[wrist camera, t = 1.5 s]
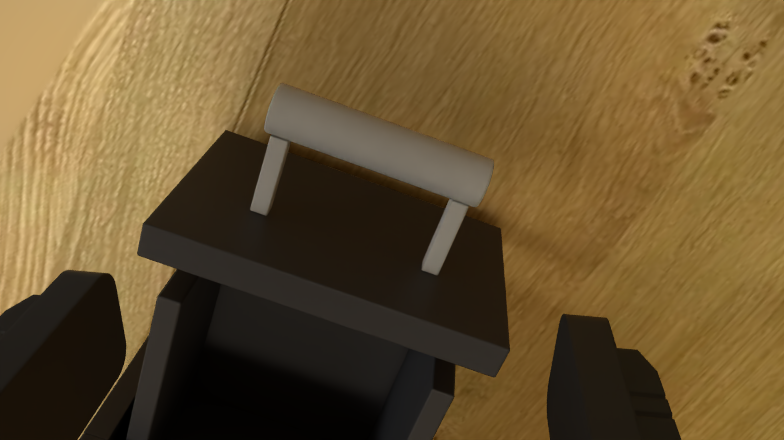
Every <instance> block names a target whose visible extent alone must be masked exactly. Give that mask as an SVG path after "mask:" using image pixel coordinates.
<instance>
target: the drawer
mask: <svg viewBox="0 0 784 440" xmlns="http://www.w3.org/2000/svg"><path fill="white" fill-rule="evenodd" d="M264 129H265V132H266V133H269V134H272V135H271V136H270V139H269V143H268V145H267V144H264V143H261V142H258V141H256V140H253V139H250V138H247V137H244V136H242V135H239V134H236V133H233V132H230V131H228V130H225V131H224V133H223V134H222V135H221V136H220V137H219V138H218V139H217V141H216V142H215V143H214V144H213V145H212V146H211V147H210V148H209V150H208V151H207V152H206V153H205V154H204V155H203V156H202V158H201V159H200V160H199V161H198V162H197V163H196V164H195V165H194V167H193V168H192V169H191V170H190V171H189V172H188V173H187V175H186V176H185V177H184V178H183V179H182V180H181V181H180V182H179V184H178V185H177V186H176V187H175V188H174V189H173V190H172V192H171V193H170V194H169V195H168V196H167V197H166V198H165V199H164V201H163V202H162V203H161V204H160V205H159V206H158V207H157V209H156V210H155V211H154V212H153V213H152V214H151V215H150V217H149V218H148V219H147V220H146V221H145V222H144V223H143V227H142V232H141V237H140V242H139V247H138V252H137V254H138V255H139V256H141V257H144V258H147V259H150V260H153V261H156V262H159V263H162V264H165V265H167V266H170V267H173V268H176V269H177V270H176V271H175V273H174V274H173V275H172V277H171V278H170V280H169V281H168V282H167V284H166V285H165V287H164V288H163V290H162V291H161V292H160V294H159V295H158V297H157V301H156V306H155V311H154V315H153V320H152V324H151V329H150V333H149V338H148V342H147V347H146V351H145V356H144V360H143V365H142V369H141V374H140V378H139V383H138V388H137V392H136V397H135V401H134V406H133V410H132V415H131V419H130V424H129V428H128V433H127V437H126V440H432V439H433V437H434V435H435V433H436V431H437V429H438V427H439V425H440V424H441V422H442V420H443V418H444V416H445V414H446V412H447V410H448V408H449V406H450V404H451V402H452V400H453V399H454V390H455V364H456V365H459V366H462V367H465V368H468V369H471V370H474V371H477V372H480V373H482V374H485V375H488V376H491V377H496V375H497V373H498V372H499V370H500V368H501V366H502V364H503V362H504V361H505V359H506V357H507V355H508V353H509V351H510V345H509V331H508V317H507V304H506V290H505V277H504V263H503V250H502V236H501V229H500V228H498V227H496V226H493V225H490V224H487V223H485V222H482V221H479V220H476V219H473V218H471V217H468V216H465V214H466V212H467V210H468V206H469V205H470V206H472V207H477V206H478V205H479V204H480V202H481V201H482V199H483V197H484V195H485V193H486V191H487V188H488V186H489V183H490V180H491V177H492V173H493V169H494V161H493V160H492V159H490V158H487V157H484V156H482V155H479V154H476V153H473V152H471V151H468V150H465V149H463V148H460V147H457V146H454V145H452V144H449V143H446V142H443V141H441V140H438V139H435V138H432V137H430V136H427V135H424V134H421V133H419V132H416V131H413V130H410V129H408V128H405V127H402V126H400V125H397V124H394V123H391V122H389V121H386V120H383V119H380V118H378V117H375V116H372V115H369V114H367V113H364V112H361V111H358V110H356V109H353V108H350V107H347V106H345V105H342V104H339V103H337V102H334V101H331V100H328V99H326V98H323V97H320V96H317V95H315V94H312V93H309V92H306V91H304V90H301V89H298V88H295V87H293V86H290V85H287V84H284V83H281V84H280V85H279V86H278V87H277V89H276V91H275V93H274V96H273V98H272V101H271V103H270V106H269V109H268V113H267V116H266V120H265V126H264ZM291 141H292V142H294V143H297V144H300V145H303V146H305V147H308V148H311V149H314V150H317V151H319V152H322V153H325V154H328V155H330V156H333V157H336V158H339V159H342V160H344V161H347V162H350V163H353V164H355V165H358V166H361V167H364V168H367V169H369V170H372V171H375V172H378V173H381V174H383V175H386V176H389V177H392V178H394V179H397V180H400V181H403V182H406V183H408V184H411V185H414V186H417V187H419V188H422V189H425V190H428V191H431V192H433V193H436V194H439V195H442V196H445V197H447V198H450V199H449V201H448V204H447V206H446V208H443V207H440V206H437V205H434V204H431V203H429V202H426V201H423V200H420V199H418V198H415V197H412V196H409V195H406V194H404V193H401V192H398V191H395V190H392V189H390V188H387V187H384V186H381V185H378V184H376V183H373V182H370V181H367V180H364V179H362V178H359V177H356V176H353V175H351V174H348V173H345V172H342V171H339V170H337V169H334V168H331V167H328V166H325V165H323V164H320V163H317V162H314V161H311V160H309V159H306V158H303V157H300V156H297V155H295V154H292V153H289V152H288V150H289V147H290V143H291Z"/></svg>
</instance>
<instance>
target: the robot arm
mask: <svg viewBox="0 0 784 440" xmlns="http://www.w3.org/2000/svg"><path fill="white" fill-rule="evenodd" d="M125 356H126V339H125V334H124V328H123V322H122V317H121V311H120V306H119V300H118V294H117V289H116V284H115V281H114V278H113V277H112V276H111V275H110V274H108V273H98V272H86V271H74V270H66V271H64V272H62V273H61V274H60V275H59V276H58V277H57V278H56V279H55V280H54V281H53V282H52V284H51V285H50V286H49V287H48V288H47V289H46V290H45V291H44V292H43V293H42V294H41V295H32V296H30V297H29V298H27V299H25V300H23V301H22V302H20V303H18V304H16V305H15V306H13V307H11V308H9V309H8V310H6V311H5V312H4V313H3V314H2V315H1V316H0V440H77V439H78V438H79V436H80V435H81V433H82V432H83V430H84V429H85V427H86V426H87V424H88V423H89V421H90V420H91V418H92V416H93V415H94V413H95V412H96V410H97V409H98V407H99V406H100V404H101V403H102V401H103V400H104V398H105V397H106V395H107V394H108V392H109V391H110V389H111V388H112V386H113V385H114V383H115V382H116V380H117V379H118V377H119V375H120V373H121V371H122V368H123V365H124V361H125ZM547 420H548V427H549V435H550V440H681V437H680V434H679V432H678V429H677V426H676V423H675V420H674V419H672V412H671V409H670V406H669V403H668V400H667V399H665V392H664V389H663V386H662V383H661V381H660V378H659V375H658V372H657V371H656V369H655V368H654V367H653V366H652V365H651V364H650V363H649V362H648V361H647V360H646V359H645V358H644V356H643V355H642V354H641V353H640V352H639V351H638V350H632V349H621V348H616V344H615V341H614V337H613V334H612V330H611V327H610V323H609V321H608V319H607V318H603V317H592V316H580V315H569V314H563V315H562V317H561V319H560V323H559V328H558V334H557V339H556V345H555V350H554V356H553V361H552V366H551V372H550V377H549V383H548V392H547Z"/></svg>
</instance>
